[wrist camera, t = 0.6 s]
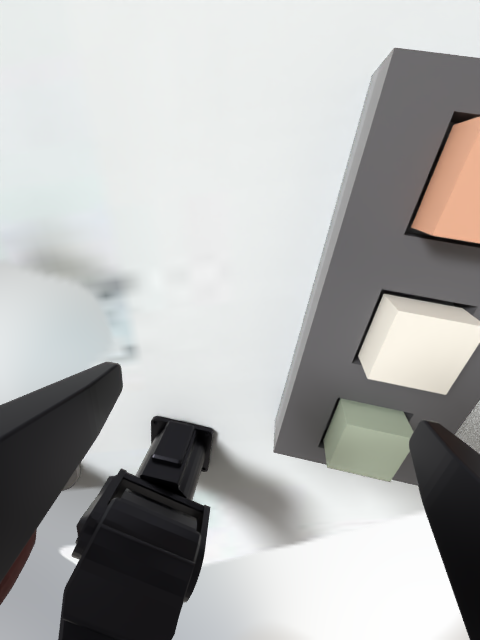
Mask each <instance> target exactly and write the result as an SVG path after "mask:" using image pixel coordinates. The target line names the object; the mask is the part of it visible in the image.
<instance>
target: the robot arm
mask: <svg viewBox="0 0 480 640" xmlns="http://www.w3.org/2000/svg"><path fill="white" fill-rule="evenodd" d="M122 387H123V382H122V371H121V366H120V365H119V364H118V363H113V362H104V363H102V364H99V365H97V366H94V367H92V368H90V369H87V370H85V371H82V372H80V373H78V374H75V375H73V376H70V377H68V378H65V379H63V380H61V381H58V382H56V383H53V384H51V385H48V386H46V387H43V388H41V389H39V390H36V391H34V392H31V393H29V394H27V395H24V396H22V397H19V398H17V399H14V400H12V401H10V402H7V403H5V404H2V405H0V583H1V581H2V580H3V578H4V577H5V575H6V574H7V572H8V571H9V569H10V568H11V566H12V565H13V563H14V562H15V560H16V559H17V557H18V556H19V554H20V553H21V551H22V550H23V548H24V547H25V545H26V544H27V542H28V541H29V539H30V538H31V536H32V535H33V533H34V532H35V530H36V529H37V527H38V526H39V524H40V523H41V521H42V520H43V518H44V517H45V515H46V514H47V512H48V511H49V509H50V508H51V506H52V505H53V503H54V501H55V500H56V499H57V497H58V495H59V494H60V493H61V491H62V490H63V488H64V487H65V485H66V484H67V482H68V480H69V479H70V477H71V476H72V474H73V473H74V471H75V470H76V468H77V467H78V465H79V464H80V462H81V461H82V459H83V458H84V456H85V455H86V453H87V452H88V450H89V449H90V447H91V446H92V444H93V443H94V441H95V440H96V438H97V436H98V435H99V433H100V431H101V429H102V428H103V426H104V424H105V422H106V420H107V418H108V416H109V414H110V412H111V410H112V409H113V407H114V405H115V403H116V401H117V399H118V397H119V395H120V393H121V391H122ZM212 439H213V430H212V429H210V428H206V427H202V426H197V425H193V424H189V423H184V422H180V421H175V420H171V419H166V418H162V417H158V416H155V417H153V419H152V420H151V446H150V448H149V450H148V452H147V454H146V456H145V458H144V460H143V462H142V464H141V466H140V468H139V470H138V472H137V474H136V476H134V475H132V474H130V473H127V471H126V470H124V469H121V470H120V471H119V473H118V474H117V475H116V476H110V477H109V478H108V479H107V481H106V483H105V484H104V486H103V488H102V489H101V491H100V493H99V494H98V496H97V497H96V499H95V500H94V501H93V503H92V504H91V505H90V507H89V508H88V509H87V511H86V512H85V513H84V515H83V516H82V518H81V519H80V521H79V523H78V524H77V532H78V538H77V540H76V544H77V545H76V547H75V549H74V551H73V553H72V557H74V558H77V559H80V560H79V562H78V564H77V566H76V568H75V569H74V571H73V573H72V575H71V577H70V579H69V581H68V583H67V585H66V587H65V590H64V594H63V603H62V612H61V621H60V630H59V639H58V640H171V639H172V638H173V636H174V634H175V630H176V626H177V622H178V618H179V614H180V611H181V608H182V605H183V602H187V601H188V599H189V598H190V596H191V594H192V592H193V590H194V588H195V585H196V582H197V580H198V576H199V573H200V570H201V567H202V563H203V558H204V552H205V545H206V537H207V529H208V521H209V513H210V507H209V506H206V505H204V506H203V505H201V504H199V503H197V502H194V501H192V500H193V496H194V493H195V490H196V486H197V483H198V479H199V476H200V473H201V471H203V472H206V471H207V470H208V467H209V461H210V454H211V446H212ZM409 449H410V454H411V458H412V462H413V466H414V470H415V474H416V478H417V483H418V487H419V491H420V495H421V499H422V502H423V505H424V508H425V512H426V515H427V517H428V520H429V523H430V526H431V529H432V532H433V534H434V538H435V540H436V543H437V546H438V549H439V552H440V555H441V558H442V560H443V563H444V566H445V569H446V572H447V575H448V578H449V581H450V583H451V586H452V589H453V592H454V595H455V598H456V601H457V603H458V607H459V610H460V612H461V615H462V618H463V621H464V624H465V627H466V629H467V632H468V635H469V638H470V640H480V454H479V453H477V452H476V451H475V450H473V449H472V448H471V447H470V446H468V445H467V444H466V443H464V442H463V441H462V440H460V439H459V438H458V437H457V436H455V435H454V434H453V433H451V432H450V431H449V430H447V429H446V428H445V427H444V426H442V425H441V424H440V423H438V422H434V421H429V420H421V421H420V422H419V423H418V425H417V427H416V428H415V430H414V432H413V434H412V436H411V438H410V440H409Z"/></svg>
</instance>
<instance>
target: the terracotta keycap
mask: <svg viewBox="0 0 480 640" xmlns="http://www.w3.org/2000/svg"><path fill="white" fill-rule="evenodd" d="M411 227H412V228H414V229H417V230H419V231H422V232H425V233H427V234H430V235H433V236H439V237H444V238H450V239H456V240H462V241H468V242H474V243H480V117H477V118H474V119H470V120H467V121H464V122H461V123H458V124H455V125H453V127H452V129H451V132H450V134H449V137H448V139H447V141H446V144H445V146H444V149H443V151H442V153H441V156H440V158H439V161H438V163H437V166H436V168H435V170H434V173H433V175H432V178H431V180H430V183H429V185H428V187H427V190H426V192H425V195H424V197H423V200H422V202H421V204H420V207H419V209H418V212H417V214H416V217H415V219H414V221H413V224H412V226H411Z"/></svg>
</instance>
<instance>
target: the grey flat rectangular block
mask: <svg viewBox="0 0 480 640" xmlns="http://www.w3.org/2000/svg"><path fill="white" fill-rule="evenodd" d="M477 117H480V58H474V57H466V56H458V55H450V54H442V53H434V52H425V51H417V50H409V49H401V48H394V49H393V50H392V51H391V53H390V54H389V55H388V56H387V58H386V59H385V60H384V61H383V62H382V64H381V65H380V66H379V67H378V69H377V70H376V71H375V72H374V74H373V75H372V78H371V81H370V85H369V88H368V92H367V95H366V99H365V103H364V106H363V110H362V113H361V117H360V120H359V124H358V128H357V131H356V135H355V138H354V142H353V145H352V149H351V152H350V156H349V160H348V163H347V167H346V170H345V174H344V177H343V181H342V185H341V188H340V192H339V195H338V199H337V202H336V206H335V209H334V213H333V217H332V220H331V224H330V227H329V231H328V234H327V238H326V242H325V245H324V249H323V252H322V256H321V259H320V263H319V266H318V270H317V274H316V277H315V281H314V284H313V288H312V291H311V295H310V299H309V302H308V306H307V309H306V313H305V316H304V320H303V323H302V327H301V331H300V334H299V338H298V341H297V345H296V348H295V352H294V356H293V359H292V363H291V366H290V370H289V373H288V377H287V380H286V384H285V388H284V391H283V395H282V398H281V402H280V405H279V409H278V413H277V416H276V420H275V433H274V453H278V454H283V455H287V456H291V457H296V458H300V459H305V460H309V461H313V462H318V463H322V464H326V465H327V463H326V455H325V448H324V441H323V440H324V437H325V435H326V432H327V430H328V427H329V425H330V423H331V420H332V418H333V415H334V413H335V410H336V408H337V406H338V403H339V401H340V398H342V399H346V400H351V401H356V402H360V403H365V404H370V405H375V406H379V407H384V408H389V409H393V410H398V411H403V412H404V414H405V416H406V418H407V420H408V422H409V424H410V426H411V428H412V430H413V432H414V430H415V428H416V427H417V425H418V423H419V422H420V421H421V420H429V421H434V422H438V423H440V424H441V425H442V426H444V427H445V428H446V429H447V430H449V431H450V432H451V433H453V434H455V433H456V432H457V430H458V429H459V427H460V426H461V425H462V423H463V422H464V420H465V419H466V418H467V416H468V415H469V414H470V412H471V411H472V409H473V408H474V407H475V405H476V404H477V403H478V401H479V400H480V343H479V344H478V346H477V348H476V349H475V351H474V352H473V354H472V355H471V357H470V358H469V360H468V362H467V363H466V365H465V366H464V368H463V369H462V371H461V372H460V374H459V376H458V377H457V379H456V380H455V382H454V383H453V385H452V386H451V388H450V390H449V391H448V393H447V394H446V395H444V394H439V393H434V392H429V391H425V390H420V389H415V388H410V387H405V386H400V385H395V384H391V383H386V382H381V381H376V380H371V379H367V377H366V374H365V372H364V369H363V367H362V364H361V362H360V359H359V357H358V355H359V352H360V350H361V347H362V345H363V343H364V340H365V338H366V335H367V333H368V330H369V328H370V326H371V323H372V321H373V318H374V316H375V313H376V311H377V309H378V306H379V304H380V301H381V299H382V296H383V294H389V295H394V296H399V297H405V298H410V299H416V300H421V301H427V302H432V303H437V304H443V305H448V306H454V307H459V308H463V309H464V310H466V311H467V312H468V313H470V314H471V315H472V316H474V317H475V318H476V319H478V320H479V321H480V243H474V242H468V241H462V240H456V239H450V238H444V237H439V236H433V235H430V234H427V233H425V232H422V231H419V230H417V229H414V228H412V227H411V226H412V224H413V221H414V219H415V217H416V214H417V212H418V209H419V207H420V204H421V202H422V200H423V197H424V195H425V192H426V190H427V187H428V185H429V183H430V180H431V178H432V175H433V173H434V170H435V168H436V166H437V163H438V161H439V158H440V156H441V153H442V151H443V149H444V146H445V144H446V141H447V139H448V137H449V134H450V132H451V129H452V127H453V125H455V124H458V123H461V122H464V121H467V120H470V119H474V118H477ZM392 480H396V481H400V482H405V483H409V484H413V485H418V483H417V478H416V474H415V470H414V466H413V462H412V458H411V454H410V452H409V453H408V455H407V456H406V458H405V459H404V461H403V463H402V464H401V466H400V467H399V469H398V470H397V472H396V473H395V475H394V477H393V478H392Z"/></svg>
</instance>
